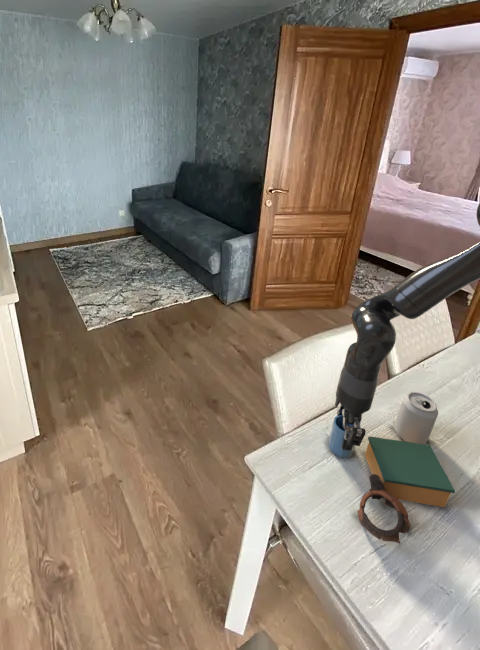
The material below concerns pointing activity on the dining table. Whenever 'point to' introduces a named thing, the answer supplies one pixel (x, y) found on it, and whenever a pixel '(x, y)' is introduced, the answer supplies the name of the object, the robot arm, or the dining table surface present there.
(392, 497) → the brown jagged ring
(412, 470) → the container
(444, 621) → the dining table surface
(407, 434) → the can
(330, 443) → the cup
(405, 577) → the dining table surface
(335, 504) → the dining table surface
